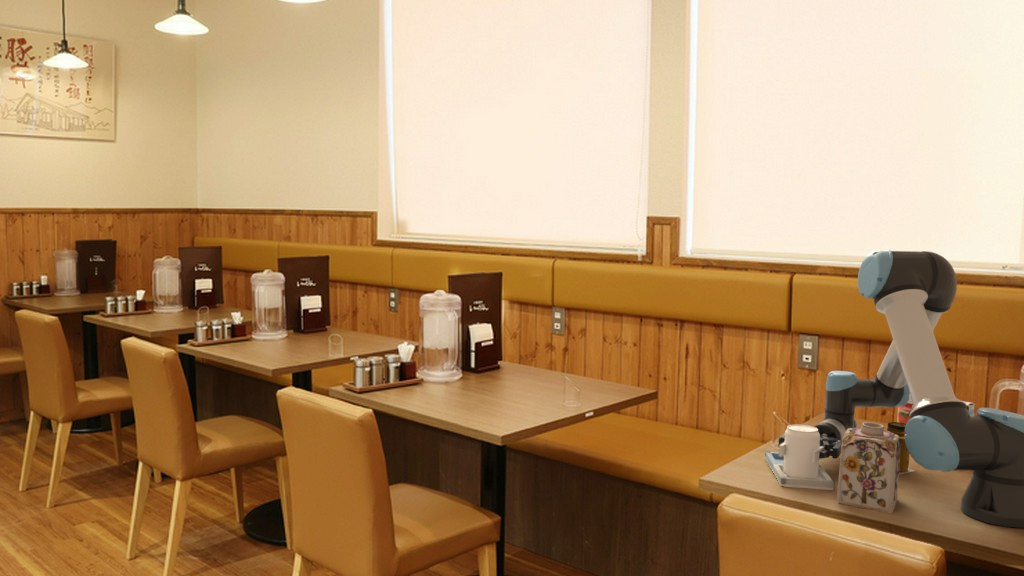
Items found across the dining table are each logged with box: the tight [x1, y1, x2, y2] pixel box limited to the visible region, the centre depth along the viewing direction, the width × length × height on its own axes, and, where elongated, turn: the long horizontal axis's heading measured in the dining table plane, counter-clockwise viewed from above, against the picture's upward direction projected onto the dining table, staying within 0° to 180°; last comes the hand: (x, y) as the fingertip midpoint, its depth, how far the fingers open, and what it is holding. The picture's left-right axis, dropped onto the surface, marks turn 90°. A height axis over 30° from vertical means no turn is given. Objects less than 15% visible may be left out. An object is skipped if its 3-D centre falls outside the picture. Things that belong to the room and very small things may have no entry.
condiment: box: [886, 421, 916, 476], centre depth 215 cm, size 7×8×12 cm
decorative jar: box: [836, 421, 901, 514], centre depth 189 cm, size 12×12×18 cm
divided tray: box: [764, 451, 834, 491], centre depth 209 cm, size 23×12×2 cm, turn 172°
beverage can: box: [783, 424, 820, 479], centre depth 203 cm, size 8×8×12 cm
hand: (796, 454), depth 198 cm, fingers closed on beverage can, 7 cm apart
